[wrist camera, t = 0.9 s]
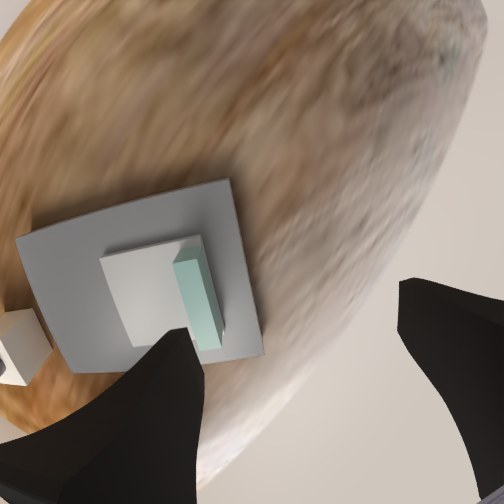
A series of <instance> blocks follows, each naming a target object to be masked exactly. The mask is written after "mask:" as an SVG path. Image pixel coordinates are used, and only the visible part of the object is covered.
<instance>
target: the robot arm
mask: <svg viewBox="0 0 504 504" xmlns="http://www.w3.org/2000/svg"><path fill="white" fill-rule="evenodd" d="M397 331H398V333H399V335H400V337H401V339H402V341H403V343H404V345H405V346H406V348H407V350H408V352H409V353H410V354H411V356H412V357H413V359H414V360H415V361H416V363H417V364H418V365H419V367H420V368H421V369H422V371H423V372H424V373H425V375H426V376H427V377H428V379H429V380H430V381H431V383H432V384H433V386H434V387H435V388H436V390H437V391H438V392H439V394H440V395H441V397H442V398H443V400H444V402H445V403H446V405H447V407H448V409H449V411H450V413H451V415H452V417H453V419H454V421H455V423H456V425H457V427H458V430H459V432H460V434H461V436H462V439H463V441H464V443H465V446H466V449H467V452H468V454H469V458H470V461H471V464H472V467H473V471H474V474H475V478H476V482H477V487H478V492H479V497H480V498H481V501H480V502H479V503H477V504H504V301H503V300H498V299H493V298H489V297H485V296H481V295H477V294H473V293H470V292H466V291H462V290H459V289H456V288H453V287H449V286H446V285H443V284H439V283H436V282H432V281H428V280H425V279H420V278H410V279H407V280H403V281H399V308H398V326H397ZM204 390H205V386H204V372H203V369H202V366H201V364H200V361H199V358H198V356H197V353H196V350H195V348H194V345H193V342H192V339H191V336H190V334H189V331H188V328H187V327H184V328H178V329H171V330H169V331H168V332H166V333H165V334H164V335H163V336H162V337H161V338H160V339H159V340H158V341H157V342H156V343H155V344H154V345H153V346H152V347H151V348H150V350H149V351H148V352H147V353H146V354H145V355H144V356H143V357H142V358H141V359H140V360H139V361H138V362H137V363H136V364H135V365H134V366H133V367H131V368H130V369H129V370H128V371H127V372H126V373H125V374H124V375H123V376H122V377H121V378H120V379H118V380H117V381H116V382H115V383H114V384H113V385H112V386H111V387H109V388H108V389H107V390H106V391H104V392H103V393H102V394H100V395H99V396H98V397H96V398H95V399H94V400H92V401H91V402H90V403H88V404H87V405H85V406H83V407H82V408H80V409H79V410H77V411H75V412H74V413H72V414H70V415H69V416H67V417H66V418H64V419H62V420H60V421H58V422H56V423H54V424H52V425H50V426H48V427H46V428H44V429H42V430H39V431H37V432H35V433H32V434H30V435H27V436H24V437H21V438H18V439H15V440H12V441H9V442H6V443H2V444H0V497H2V498H3V499H4V500H5V501H6V502H8V503H9V504H197V498H196V459H197V449H198V442H199V434H200V427H201V420H202V413H203V406H204Z"/></svg>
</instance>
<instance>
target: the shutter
mask: <svg viewBox="0 0 504 504" xmlns="http://www.w3.org/2000/svg"><path fill="white" fill-rule="evenodd" d="M99 259H100V262H101V265H102V268H103V271H104V274H105V277H106V280H107V283H108V286H109V289H110V291H111V294H112V297H113V299H114V302H115V305H116V307H117V310H118V312H119V315H120V317H121V320H122V322H123V325H124V327H125V329H126V332H127V334H128V336H129V339H130V341H131V343H132V346H133V347H137V346H147V345H154V344H155V343H156V342H157V341H158V340H159V339H160V338H161V337H162V336H163V335H164V334H165V333H166V332H168V331H169V330H171V329H178V328H184V327H187V328H188V331H189V334H190V336H191V339H192V340H195V339H196V342H197V345H198V348H199V351H205V350H212V349H218V348H222V336H223V335H225V327H224V323H223V319H222V316H221V312H220V308H219V304H218V301H217V297H216V293H215V289H214V285H213V281H212V277H211V273H210V269H209V265H208V261H207V257H206V253H205V249H204V245H203V241H202V237H201V234H198V235H193V236H188V237H184V238H179V239H174V240H169V241H165V242H160V243H155V244H151V245H146V246H142V247H137V248H132V249H128V250H123V251H119V252H115V253H110V254H106V255H103V256H102V257H100V258H99Z"/></svg>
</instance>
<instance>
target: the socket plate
mask: <svg viewBox="0 0 504 504" xmlns="http://www.w3.org/2000/svg"><path fill="white" fill-rule="evenodd" d="M198 234H201V237H202V241H203V245H204V249H205V253H206V257H207V261H208V265H209V269H210V273H211V277H212V281H213V285H214V289H215V293H216V297H217V301H218V304H219V308H220V312H221V316H222V319H223V323H224V327H225V335H223V336H222V348H218V349H212V350H205V351H199V348H198V345H197V342H196V339H195V340H192V342H193V345H194V348H195V350H196V353H197V356H198V358H199V361H200V364H201V365H202V364H209V363H216V362H223V361H230V360H237V359H243V358H249V357H255V356H260V355H265V353H264V346H263V339H262V334H261V329H260V324H259V319H258V315H257V310H256V305H255V300H254V295H253V290H252V286H251V281H250V276H249V271H248V266H247V261H246V256H245V251H244V247H243V242H242V237H241V232H240V227H239V222H238V217H237V212H236V207H235V202H234V197H233V192H232V187H231V182H230V177H228V178H223V179H218V180H214V181H209V182H204V183H200V184H195V185H191V186H186V187H182V188H178V189H174V190H169V191H165V192H161V193H157V194H153V195H149V196H145V197H142V198H138V199H134V200H130V201H127V202H123V203H119V204H116V205H112V206H109V207H105V208H102V209H98V210H95V211H92V212H88V213H85V214H82V215H79V216H76V217H72V218H69V219H66V220H63V221H60V222H57V223H54V224H51V225H48V226H45V227H42V228H39V229H36V230H34V231H31V232H29V233H26V234H24V235H22V236H20V237H18V238H16V239H15V242H16V245H17V248H18V252H19V255H20V258H21V261H22V264H23V267H24V269H25V272H26V275H27V278H28V280H29V283H30V286H31V288H32V291H33V293H34V296H35V298H36V301H37V303H38V305H39V308H40V310H41V312H42V315H43V317H44V319H45V321H46V323H47V326H48V328H49V330H50V332H51V334H52V336H53V338H54V340H55V342H56V344H57V346H58V348H59V350H60V352H61V354H62V355H63V357H64V359H65V361H66V363H67V365H68V366H69V368H70V370H71V372H72V373H107V372H127V371H128V370H129V369H130V368H131V367H133V366H134V365H135V364H136V363H137V362H138V361H139V360H140V359H141V358H142V357H143V356H144V355H145V354H146V353H147V352H148V351H149V350H150V348H151V347H152V346H153V345H147V346H137V347H133V346H132V343H131V341H130V339H129V336H128V334H127V332H126V329H125V327H124V325H123V322H122V320H121V317H120V315H119V312H118V310H117V307H116V305H115V302H114V299H113V297H112V294H111V291H110V289H109V286H108V283H107V280H106V277H105V274H104V271H103V268H102V265H101V262H100V259H99V258H100V257H102V256H103V255H106V254H110V253H115V252H119V251H123V250H128V249H132V248H137V247H142V246H146V245H151V244H155V243H160V242H165V241H169V240H174V239H179V238H184V237H188V236H193V235H198Z"/></svg>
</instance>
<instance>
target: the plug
mask: <svg viewBox="0 0 504 504" xmlns="http://www.w3.org/2000/svg"><path fill="white" fill-rule="evenodd" d="M52 352H53V349H52V347H51V345H50V343H49V341H48V339H47V337H46V335H45V333H44V331H43V329H42V327H41V325H40V323H39V321H38V319H37V316H36V314H35V312H34V310H33V308H31V309H24V310H17V311H11V312H5V313H4V314H2V315H1V316H0V383H4V384H13V385H22V386H27V385H28V384H29V383H30V381H31V380H32V378H33V377H34V376H35V374H36V373H37V372H38V370H39V369H40V368H41V366H42V365H43V364H44V362H45V361H46V360H47V359H48V357H49V356H50V355H51V353H52Z"/></svg>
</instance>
